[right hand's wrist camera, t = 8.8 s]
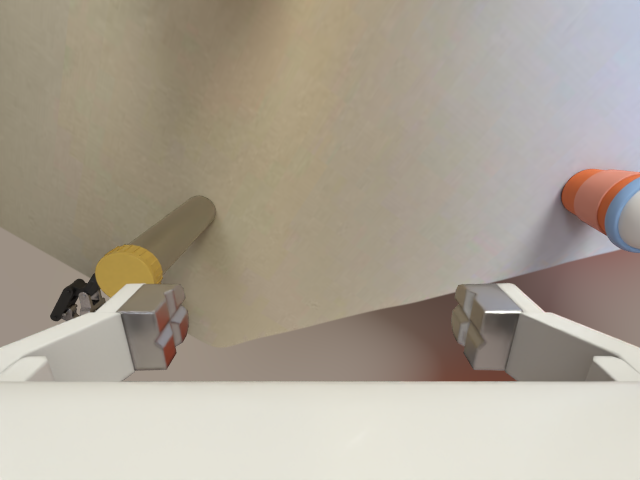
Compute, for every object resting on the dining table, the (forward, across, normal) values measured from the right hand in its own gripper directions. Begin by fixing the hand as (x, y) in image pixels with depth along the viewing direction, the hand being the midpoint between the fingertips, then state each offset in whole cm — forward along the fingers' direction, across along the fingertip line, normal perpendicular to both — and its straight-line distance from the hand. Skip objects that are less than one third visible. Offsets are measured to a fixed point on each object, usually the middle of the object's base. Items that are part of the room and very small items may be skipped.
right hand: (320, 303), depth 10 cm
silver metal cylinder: (+36, +17, +8) cm, 41 cm away
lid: (+17, +16, +8) cm, 25 cm away
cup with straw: (+37, -36, +5) cm, 52 cm away
